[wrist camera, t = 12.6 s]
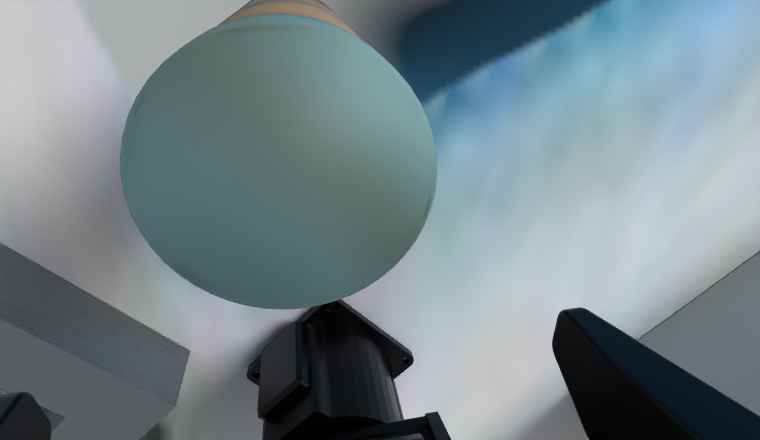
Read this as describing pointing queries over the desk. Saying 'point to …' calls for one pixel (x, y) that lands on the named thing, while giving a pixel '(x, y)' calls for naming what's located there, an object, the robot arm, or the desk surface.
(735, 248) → the desk surface
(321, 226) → the end plug
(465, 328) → the desk surface
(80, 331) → the housing
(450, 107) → the desk surface
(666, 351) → the planter
